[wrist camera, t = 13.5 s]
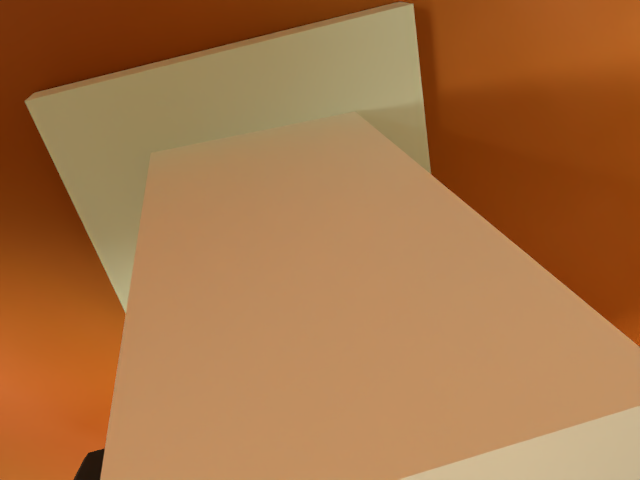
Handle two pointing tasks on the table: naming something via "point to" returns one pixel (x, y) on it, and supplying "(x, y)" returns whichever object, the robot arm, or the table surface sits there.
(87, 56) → the table surface
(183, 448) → the tan block
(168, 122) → the sage mat
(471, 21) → the table surface
